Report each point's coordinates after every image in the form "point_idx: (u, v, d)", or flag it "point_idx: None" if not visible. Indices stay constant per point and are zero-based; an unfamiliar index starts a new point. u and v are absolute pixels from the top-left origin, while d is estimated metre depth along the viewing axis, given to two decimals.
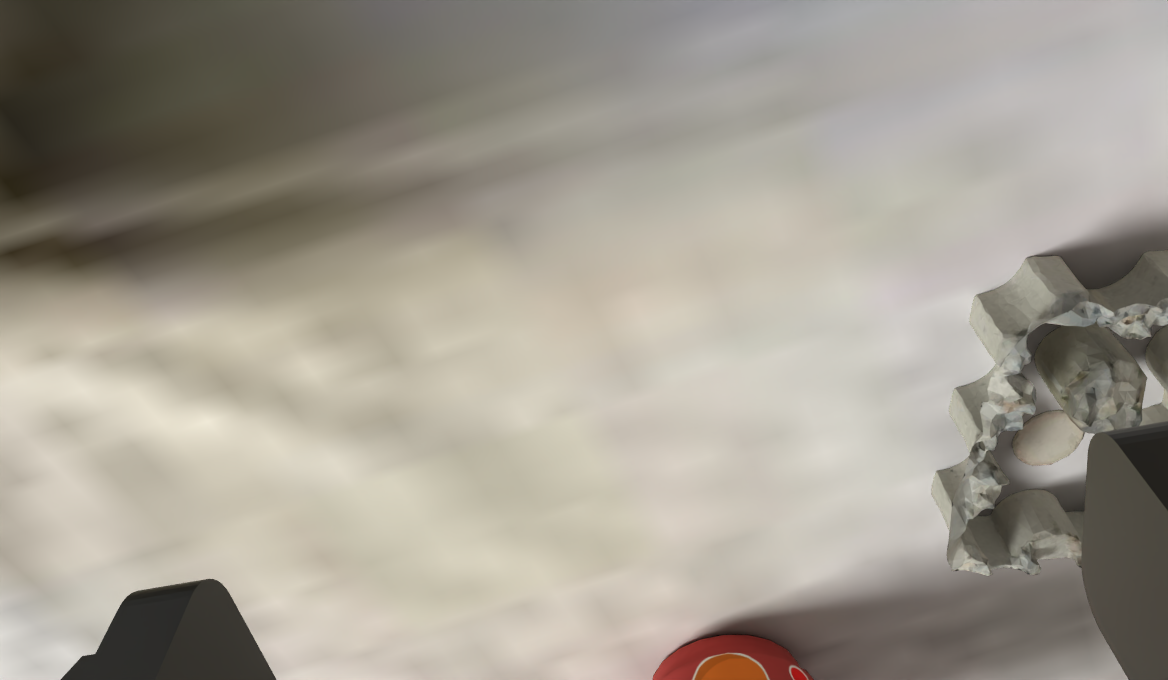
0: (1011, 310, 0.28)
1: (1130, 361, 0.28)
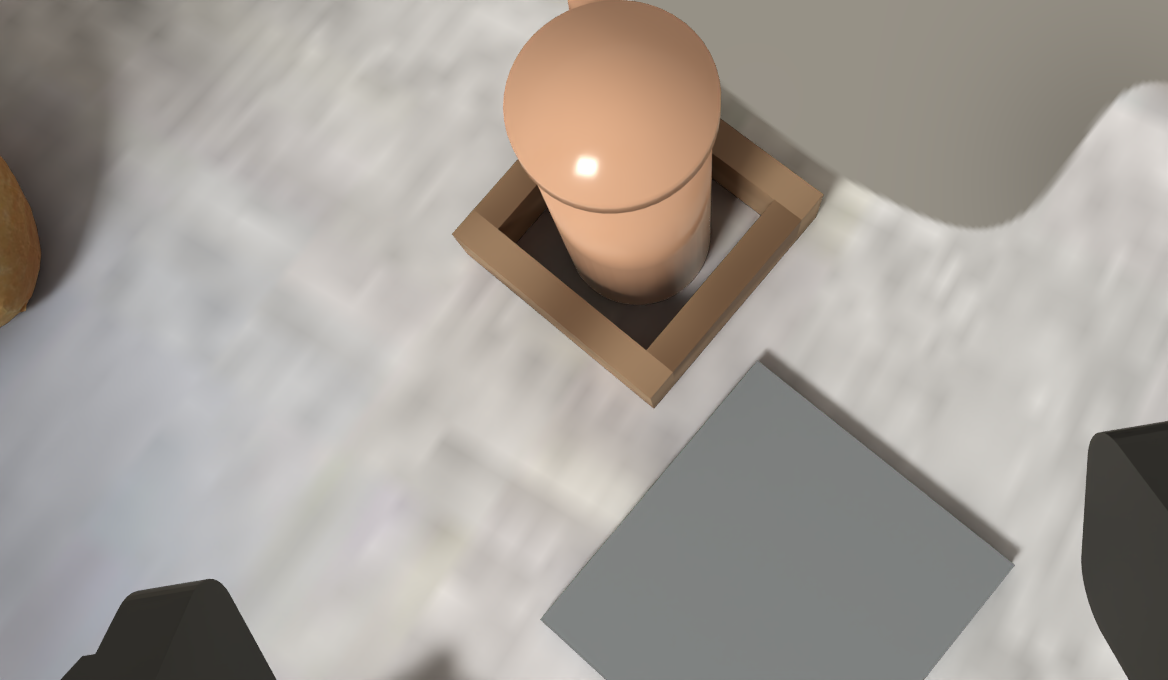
0: None
1: None
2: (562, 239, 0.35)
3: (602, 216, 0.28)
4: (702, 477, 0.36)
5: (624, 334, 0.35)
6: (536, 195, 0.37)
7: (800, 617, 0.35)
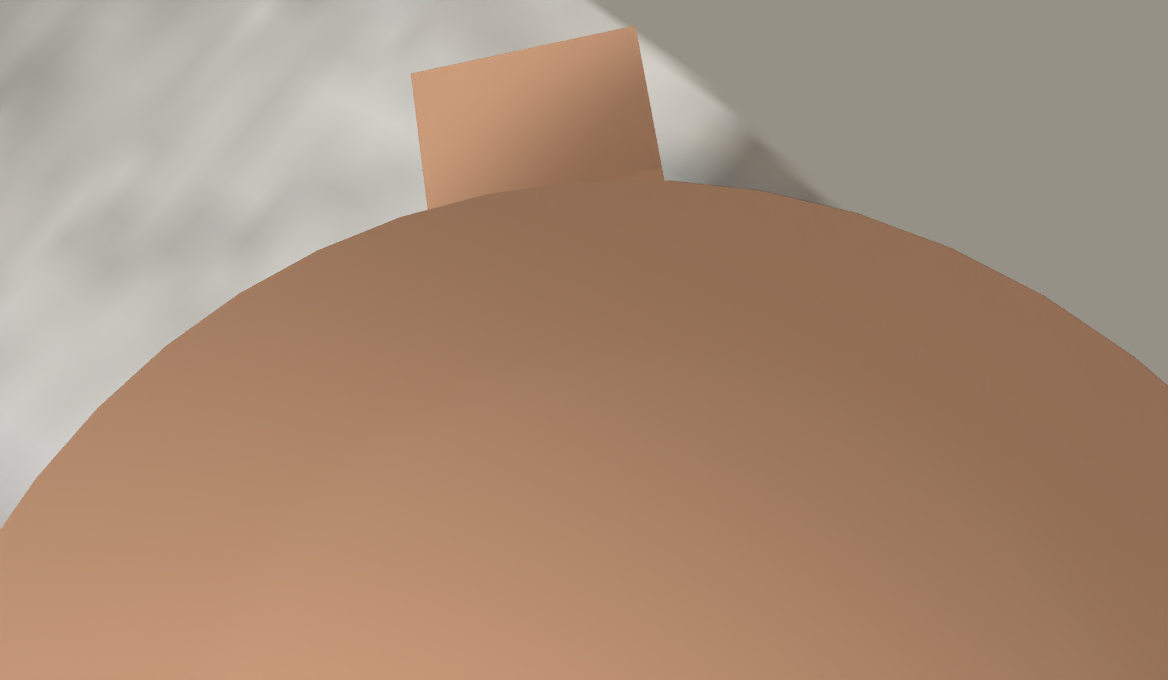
0: None
1: None
2: None
3: None
4: None
5: None
6: None
7: None
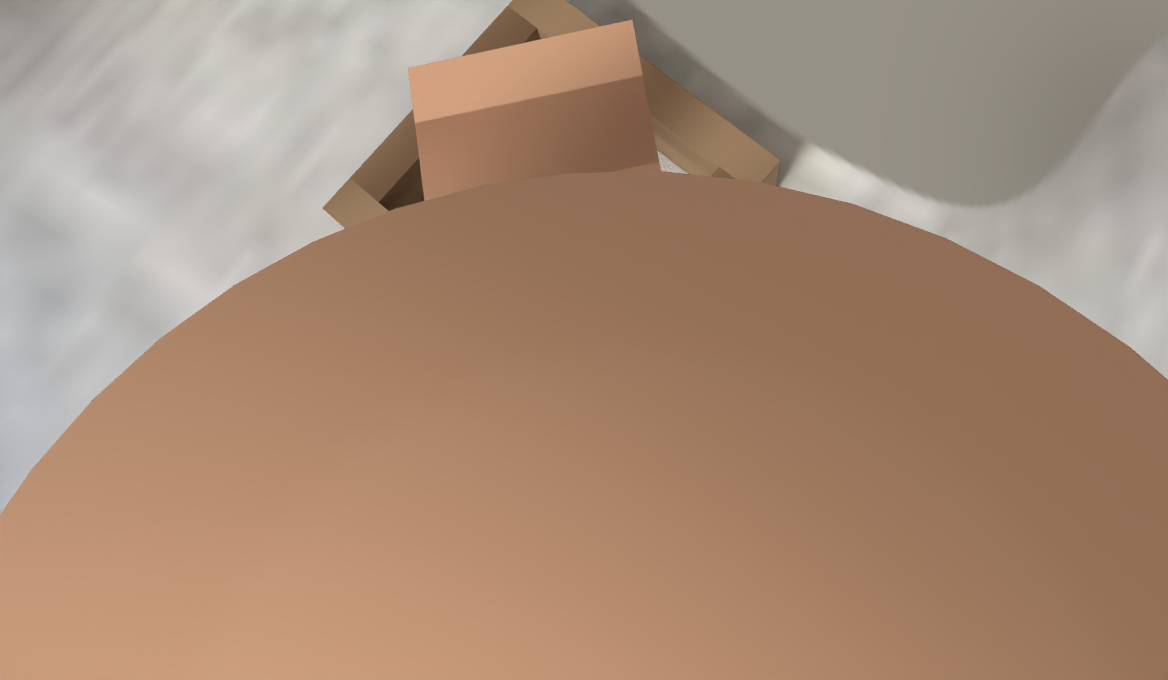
0: None
1: None
2: None
3: None
4: None
5: None
6: None
7: None
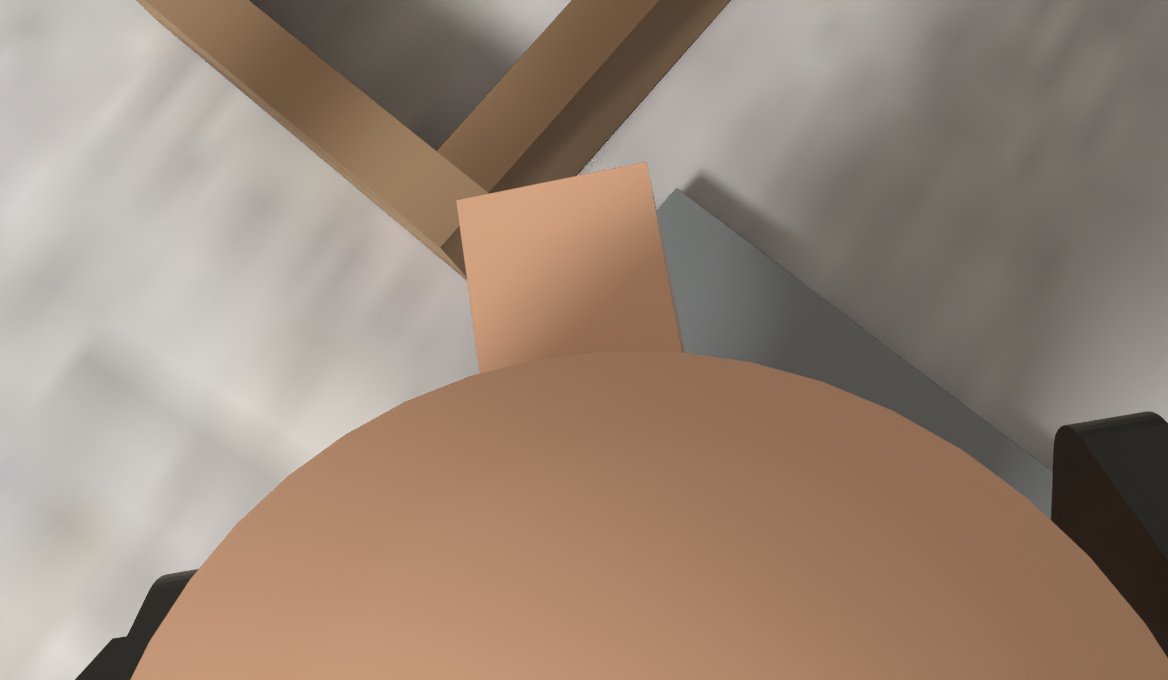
0: None
1: None
2: None
3: None
4: None
5: (395, 122, 0.17)
6: None
7: None
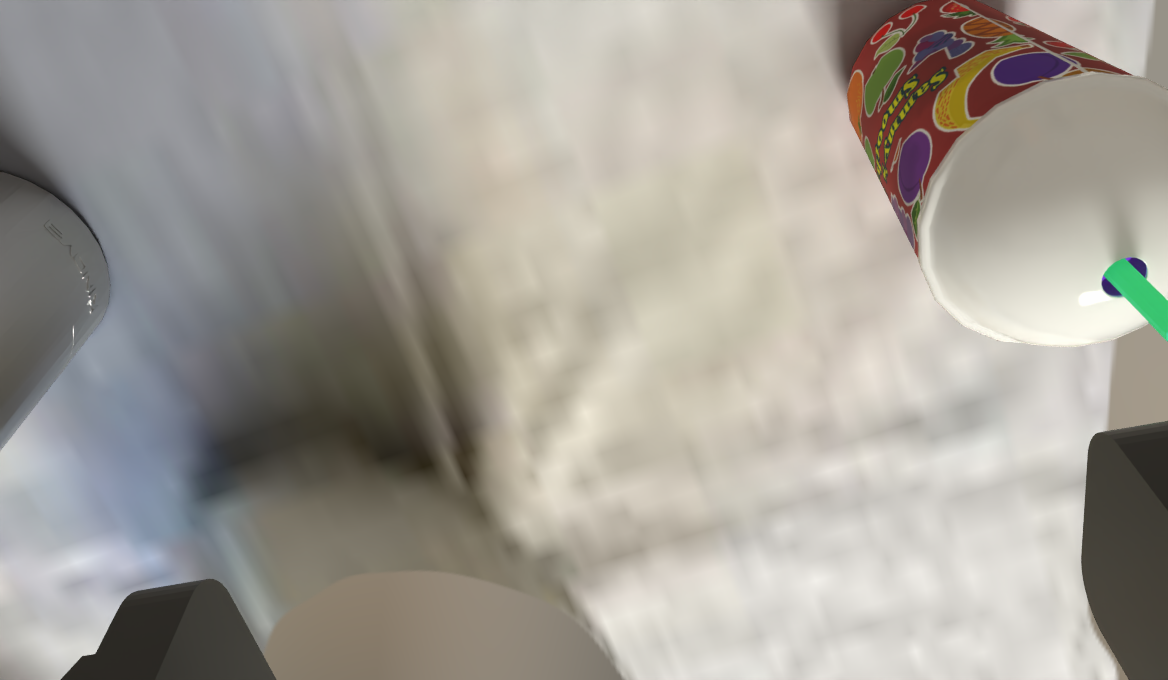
0: None
1: None
2: None
3: None
4: None
5: None
6: None
7: None
